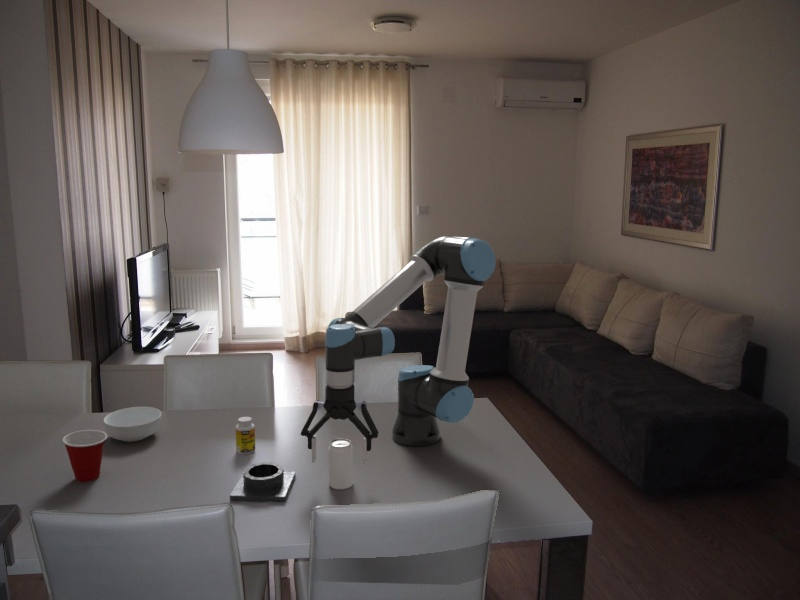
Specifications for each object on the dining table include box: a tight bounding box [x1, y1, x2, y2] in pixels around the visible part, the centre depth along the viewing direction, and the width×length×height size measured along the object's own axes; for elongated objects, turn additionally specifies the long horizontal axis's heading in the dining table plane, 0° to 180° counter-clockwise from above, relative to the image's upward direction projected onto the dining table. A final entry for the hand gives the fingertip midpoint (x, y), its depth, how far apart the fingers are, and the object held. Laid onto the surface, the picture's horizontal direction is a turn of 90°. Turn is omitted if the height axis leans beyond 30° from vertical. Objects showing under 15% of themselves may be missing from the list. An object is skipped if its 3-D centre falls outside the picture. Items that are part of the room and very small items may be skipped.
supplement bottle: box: [235, 416, 256, 455], centre depth 188 cm, size 6×6×10 cm
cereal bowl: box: [103, 406, 163, 443], centre depth 198 cm, size 17×17×7 cm
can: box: [327, 438, 354, 491], centre depth 168 cm, size 6×6×12 cm
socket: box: [229, 461, 297, 503], centre depth 166 cm, size 14×14×5 cm
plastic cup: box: [62, 429, 108, 483], centre depth 170 cm, size 11×11×12 cm
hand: (339, 461), depth 167 cm, fingers open, 13 cm apart
